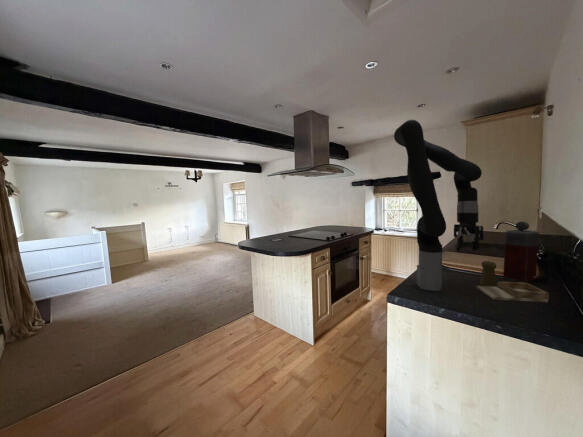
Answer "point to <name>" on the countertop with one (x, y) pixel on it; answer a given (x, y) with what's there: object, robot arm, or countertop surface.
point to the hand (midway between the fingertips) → (467, 248)
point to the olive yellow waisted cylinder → (488, 274)
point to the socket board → (515, 292)
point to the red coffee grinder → (521, 253)
